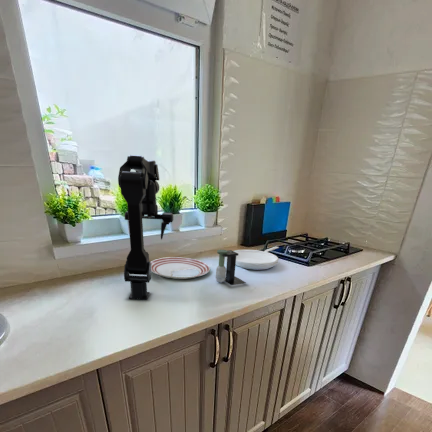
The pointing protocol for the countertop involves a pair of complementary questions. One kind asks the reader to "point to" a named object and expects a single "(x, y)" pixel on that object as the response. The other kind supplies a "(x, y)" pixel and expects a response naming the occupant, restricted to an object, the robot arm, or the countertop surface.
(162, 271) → the dinner plate
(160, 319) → the countertop surface
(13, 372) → the countertop surface
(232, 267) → the black bracket
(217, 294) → the countertop surface
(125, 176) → the robot arm
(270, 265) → the white round dish
